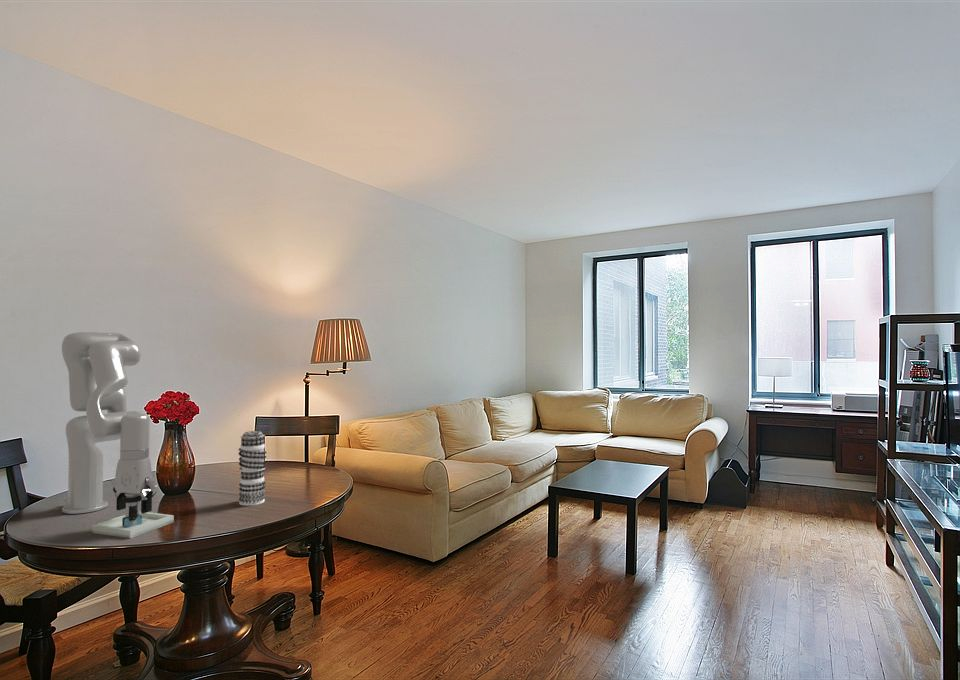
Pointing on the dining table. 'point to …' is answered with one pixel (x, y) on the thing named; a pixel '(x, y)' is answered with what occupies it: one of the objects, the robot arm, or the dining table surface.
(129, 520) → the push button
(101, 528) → the tray
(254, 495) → the decorative candle
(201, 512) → the dining table surface
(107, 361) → the robot arm
